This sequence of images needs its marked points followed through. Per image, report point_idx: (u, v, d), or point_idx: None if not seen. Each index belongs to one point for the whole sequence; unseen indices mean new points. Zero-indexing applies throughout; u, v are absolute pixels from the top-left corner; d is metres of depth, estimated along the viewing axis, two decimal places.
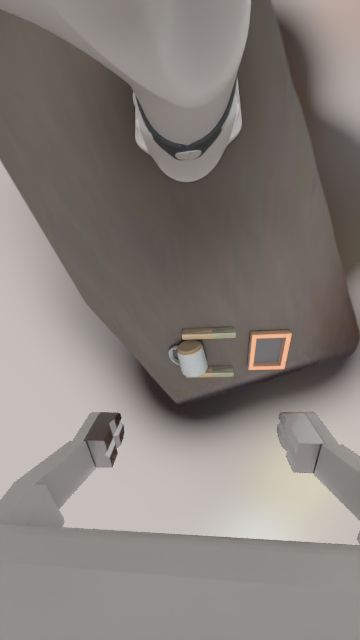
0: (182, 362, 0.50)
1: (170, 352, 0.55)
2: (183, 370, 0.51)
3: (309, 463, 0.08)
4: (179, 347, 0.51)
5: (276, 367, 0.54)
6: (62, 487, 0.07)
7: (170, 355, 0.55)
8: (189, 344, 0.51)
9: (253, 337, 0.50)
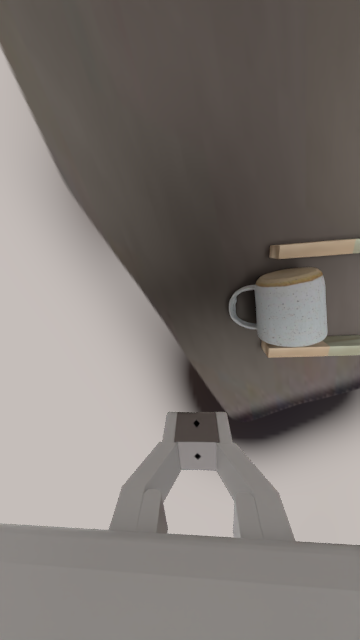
0: (276, 308, 0.21)
1: (232, 302, 0.26)
2: (274, 332, 0.22)
3: (211, 461, 0.08)
4: (264, 278, 0.22)
5: None
6: (160, 491, 0.07)
7: (231, 310, 0.27)
8: (287, 273, 0.22)
9: None
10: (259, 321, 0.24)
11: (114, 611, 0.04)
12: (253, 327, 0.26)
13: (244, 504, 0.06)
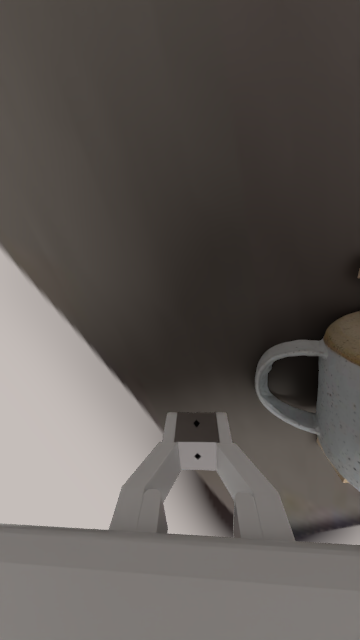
0: None
1: (264, 372, 0.12)
2: None
3: (211, 461, 0.08)
4: None
5: None
6: (160, 491, 0.07)
7: (261, 385, 0.13)
8: None
9: None
10: (336, 433, 0.10)
11: (114, 611, 0.04)
12: (310, 428, 0.12)
13: (244, 504, 0.06)
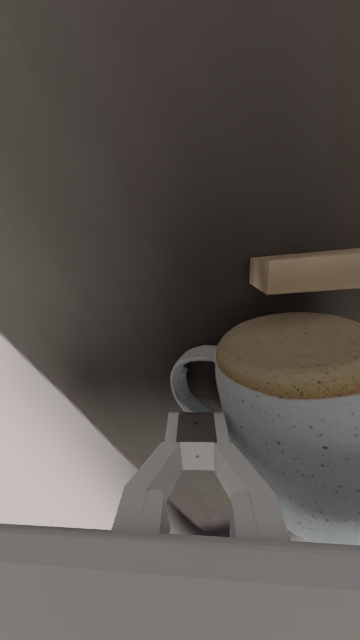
0: (261, 445, 0.07)
1: (177, 376, 0.13)
2: None
3: (208, 461, 0.08)
4: (232, 348, 0.09)
5: None
6: (162, 491, 0.07)
7: (177, 389, 0.13)
8: (288, 331, 0.09)
9: None
10: None
11: (114, 611, 0.04)
12: None
13: (240, 504, 0.06)
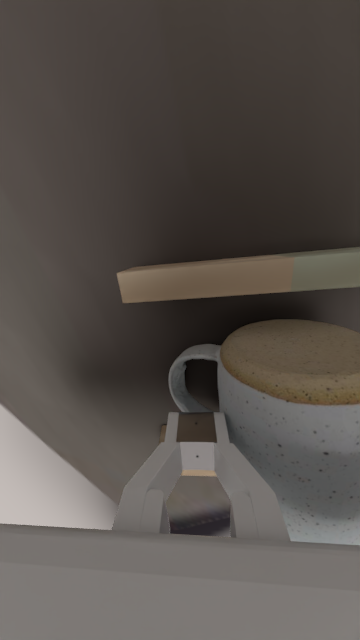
0: (261, 447, 0.07)
1: (176, 372, 0.13)
2: None
3: (208, 461, 0.08)
4: (239, 348, 0.09)
5: None
6: (162, 491, 0.07)
7: (174, 385, 0.13)
8: (294, 337, 0.09)
9: None
10: None
11: (114, 611, 0.04)
12: None
13: (240, 504, 0.06)
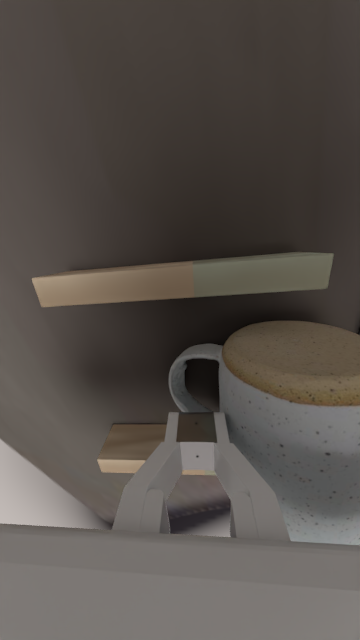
0: (262, 447, 0.07)
1: (177, 371, 0.13)
2: None
3: (208, 461, 0.08)
4: (241, 348, 0.09)
5: None
6: (162, 491, 0.07)
7: (174, 384, 0.13)
8: (296, 339, 0.09)
9: None
10: None
11: (114, 611, 0.04)
12: None
13: (240, 504, 0.06)
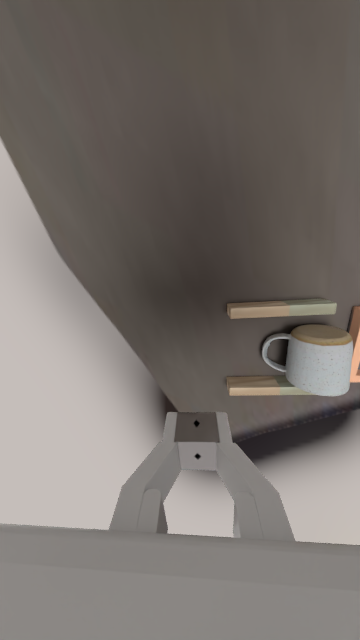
0: (311, 362, 0.24)
1: (267, 345, 0.30)
2: (305, 380, 0.26)
3: (211, 461, 0.08)
4: (302, 333, 0.26)
5: None
6: (160, 491, 0.07)
7: (264, 351, 0.30)
8: (320, 330, 0.26)
9: None
10: (291, 367, 0.27)
11: (114, 611, 0.04)
12: (282, 370, 0.29)
13: (244, 504, 0.06)
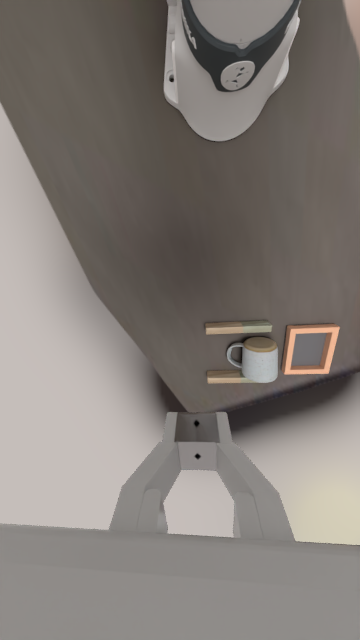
0: (252, 362, 0.40)
1: (229, 350, 0.45)
2: (250, 373, 0.41)
3: (211, 461, 0.08)
4: (248, 343, 0.41)
5: (318, 371, 0.44)
6: (160, 491, 0.07)
7: (228, 354, 0.46)
8: (260, 341, 0.42)
9: (292, 332, 0.41)
10: (243, 364, 0.43)
11: (114, 611, 0.04)
12: (239, 366, 0.45)
13: (244, 504, 0.06)
